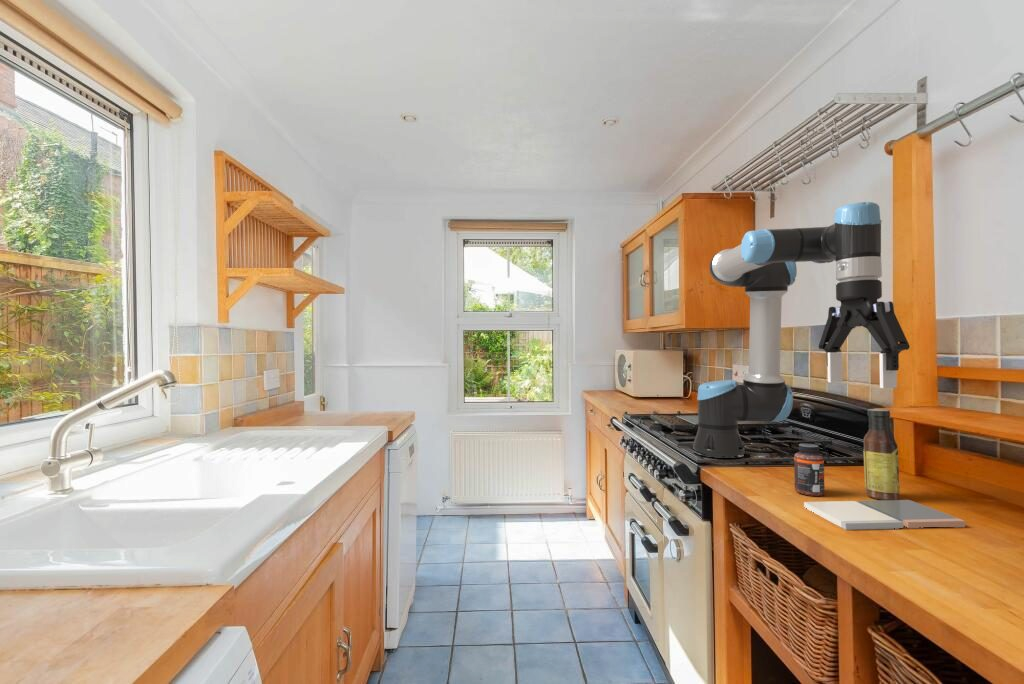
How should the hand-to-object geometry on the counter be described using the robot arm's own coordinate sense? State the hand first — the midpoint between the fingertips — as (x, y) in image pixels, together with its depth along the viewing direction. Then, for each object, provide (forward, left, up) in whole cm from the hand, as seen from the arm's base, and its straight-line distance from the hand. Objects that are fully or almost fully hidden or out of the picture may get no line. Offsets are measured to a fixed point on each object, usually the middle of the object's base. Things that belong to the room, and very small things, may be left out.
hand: (859, 385), depth 96 cm
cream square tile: (0, -3, -27) cm, 27 cm away
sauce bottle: (-11, +13, -27) cm, 32 cm away
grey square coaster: (0, +9, -27) cm, 28 cm away
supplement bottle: (-15, -1, -27) cm, 31 cm away
